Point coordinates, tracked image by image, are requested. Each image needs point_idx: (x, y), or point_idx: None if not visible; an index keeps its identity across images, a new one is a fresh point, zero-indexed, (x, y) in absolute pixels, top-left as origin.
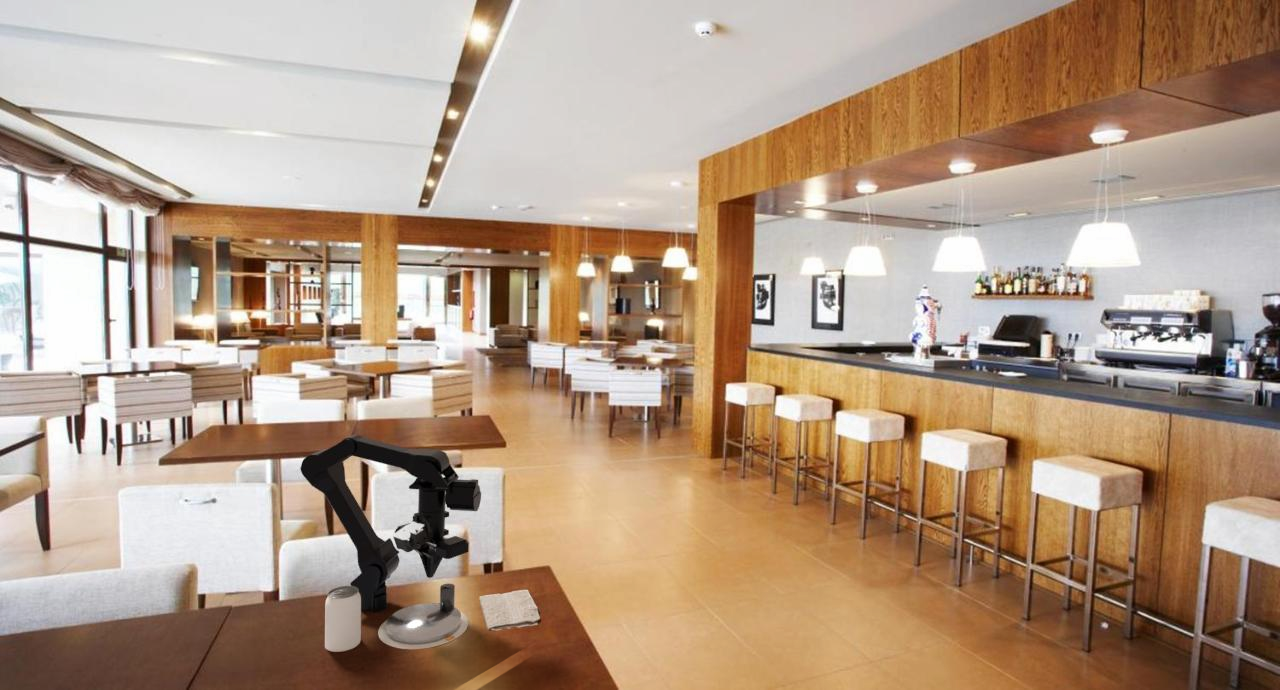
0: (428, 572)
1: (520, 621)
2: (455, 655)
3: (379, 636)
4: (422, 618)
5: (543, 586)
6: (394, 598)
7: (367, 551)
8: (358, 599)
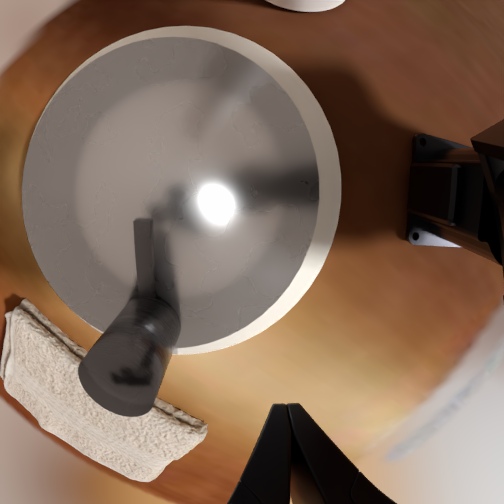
0: (276, 430)
1: (6, 367)
2: (9, 177)
3: (234, 36)
4: (153, 196)
5: (167, 496)
6: (448, 298)
7: None
8: None
